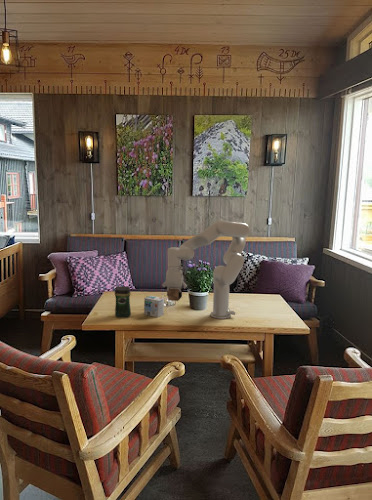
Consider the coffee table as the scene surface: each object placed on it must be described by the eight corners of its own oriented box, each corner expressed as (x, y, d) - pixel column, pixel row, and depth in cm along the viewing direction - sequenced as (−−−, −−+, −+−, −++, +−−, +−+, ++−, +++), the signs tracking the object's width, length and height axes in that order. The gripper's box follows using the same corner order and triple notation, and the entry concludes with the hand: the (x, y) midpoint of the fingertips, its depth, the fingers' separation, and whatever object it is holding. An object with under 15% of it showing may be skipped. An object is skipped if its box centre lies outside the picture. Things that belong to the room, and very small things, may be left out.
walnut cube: (180, 298, 245) (180, 288, 243) (178, 300, 239) (177, 291, 238) (171, 297, 246) (171, 287, 245) (168, 300, 240) (168, 290, 239)
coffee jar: (131, 313, 253) (131, 285, 250) (130, 318, 245) (130, 288, 242) (115, 313, 252) (115, 284, 249) (114, 318, 244) (113, 288, 241)
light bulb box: (143, 314, 252) (143, 297, 250) (149, 311, 258) (149, 295, 256) (158, 317, 247) (158, 300, 246) (164, 314, 253) (164, 297, 251)
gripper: (189, 267, 240) (190, 296, 244) (162, 266, 245) (162, 295, 248) (186, 270, 233) (186, 300, 237) (158, 268, 238) (158, 298, 241)
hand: (174, 297), depth 242 cm, fingers closed on walnut cube, 6 cm apart
